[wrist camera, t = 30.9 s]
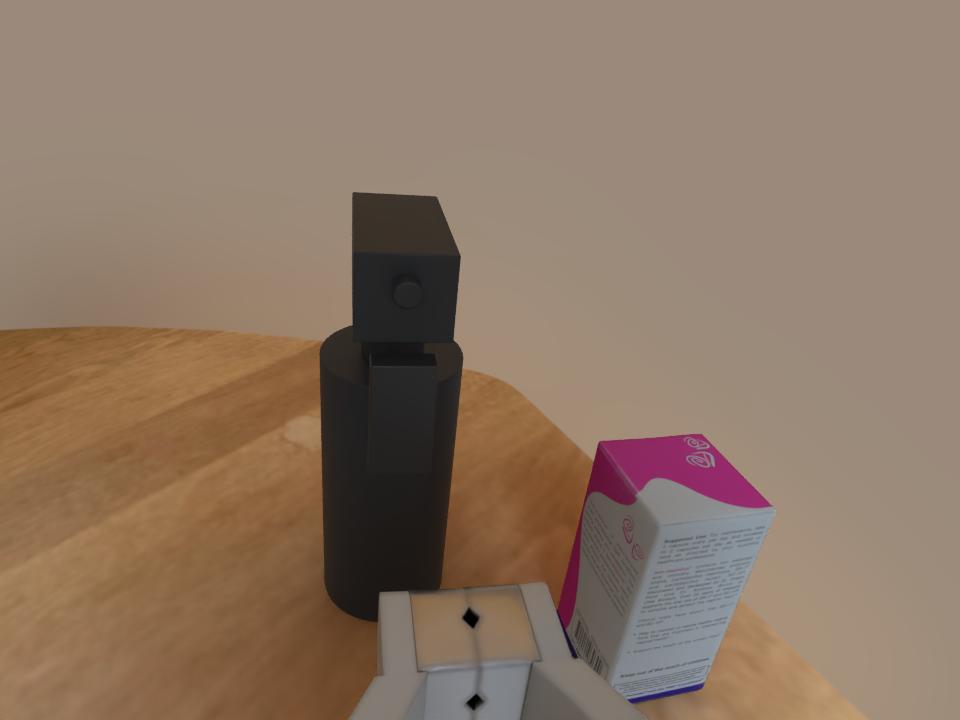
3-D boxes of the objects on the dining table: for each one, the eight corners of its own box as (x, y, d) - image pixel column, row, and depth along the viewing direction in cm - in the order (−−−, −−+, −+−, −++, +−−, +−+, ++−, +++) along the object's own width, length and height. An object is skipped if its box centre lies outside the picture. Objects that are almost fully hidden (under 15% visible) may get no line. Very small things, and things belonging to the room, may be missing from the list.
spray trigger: (430, 473, 26) (439, 366, 23) (368, 474, 25) (370, 366, 23) (428, 457, 27) (436, 352, 24) (367, 459, 26) (369, 352, 24)
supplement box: (707, 689, 32) (783, 511, 27) (597, 714, 30) (653, 528, 25) (649, 596, 37) (703, 428, 31) (551, 613, 35) (590, 438, 30)
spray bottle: (456, 664, 32) (505, 265, 22) (320, 676, 31) (308, 259, 21) (434, 529, 40) (464, 190, 30) (326, 534, 39) (319, 182, 29)
